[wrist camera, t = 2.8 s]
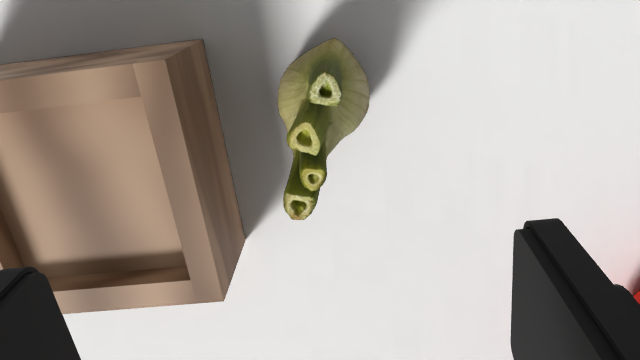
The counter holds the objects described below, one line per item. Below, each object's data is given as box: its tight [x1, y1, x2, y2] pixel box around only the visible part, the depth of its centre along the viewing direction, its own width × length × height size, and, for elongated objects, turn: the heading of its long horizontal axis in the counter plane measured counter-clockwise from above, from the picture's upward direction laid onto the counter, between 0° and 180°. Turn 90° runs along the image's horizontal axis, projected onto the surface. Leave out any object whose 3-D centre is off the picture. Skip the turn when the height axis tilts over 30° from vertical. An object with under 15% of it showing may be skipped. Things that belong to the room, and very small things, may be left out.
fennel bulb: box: [277, 38, 370, 220], centre depth 24 cm, size 6×5×12 cm
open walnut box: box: [0, 39, 245, 314], centre depth 29 cm, size 13×13×6 cm
